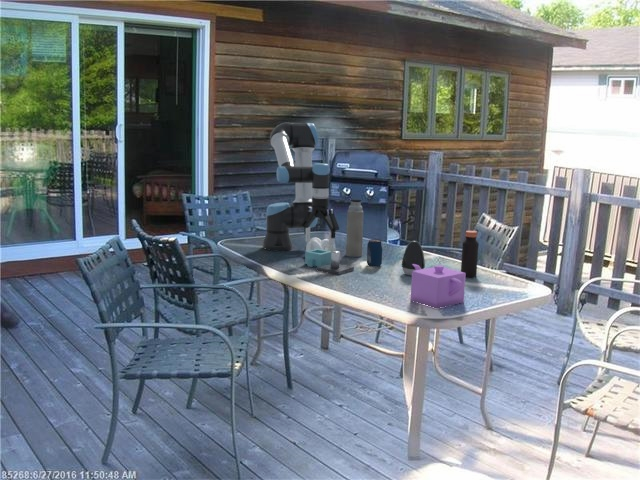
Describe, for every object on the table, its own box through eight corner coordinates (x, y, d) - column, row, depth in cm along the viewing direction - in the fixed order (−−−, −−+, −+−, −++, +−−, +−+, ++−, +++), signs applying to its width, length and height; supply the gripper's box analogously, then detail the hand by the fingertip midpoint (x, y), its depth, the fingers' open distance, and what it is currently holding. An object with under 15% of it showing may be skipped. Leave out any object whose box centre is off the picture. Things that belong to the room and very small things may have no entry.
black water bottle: (478, 277, 283) (481, 232, 280) (463, 278, 282) (467, 232, 278) (472, 274, 290) (475, 230, 286) (458, 274, 289) (461, 230, 285)
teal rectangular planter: (317, 268, 294) (317, 255, 293) (301, 265, 299) (302, 252, 298) (335, 263, 305) (335, 250, 304) (320, 260, 311) (320, 248, 309)
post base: (316, 270, 290) (316, 252, 288) (332, 266, 299) (332, 248, 297) (338, 274, 283) (339, 255, 281) (353, 270, 292) (354, 251, 290)
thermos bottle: (346, 253, 328) (348, 198, 323) (362, 253, 327) (364, 198, 322) (345, 256, 320) (347, 200, 315) (361, 257, 320) (363, 200, 314)
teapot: (424, 291, 260) (426, 256, 257) (473, 306, 241) (476, 269, 238) (397, 296, 251) (398, 261, 248) (446, 312, 231) (448, 274, 229)
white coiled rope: (301, 257, 316) (301, 239, 314) (310, 253, 327) (311, 235, 325) (322, 260, 312) (323, 241, 310) (331, 255, 322) (332, 237, 321)
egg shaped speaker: (426, 273, 290) (428, 239, 287) (422, 278, 280) (424, 243, 277) (403, 270, 293) (405, 237, 290) (398, 275, 284) (400, 241, 281)
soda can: (383, 265, 304) (384, 239, 301) (378, 268, 297) (379, 242, 295) (369, 263, 306) (370, 238, 304) (364, 266, 300) (365, 240, 298)
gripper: (293, 196, 301) (293, 241, 304) (337, 200, 286) (336, 247, 290) (303, 194, 307) (303, 239, 310) (347, 199, 292) (346, 245, 296)
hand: (319, 243), depth 300 cm, fingers open, 13 cm apart
